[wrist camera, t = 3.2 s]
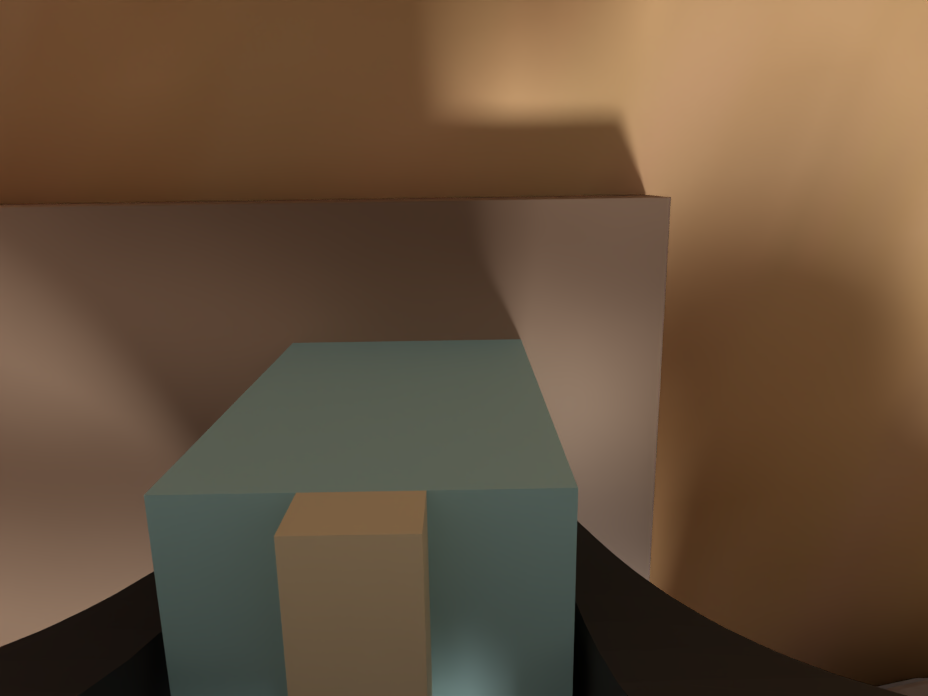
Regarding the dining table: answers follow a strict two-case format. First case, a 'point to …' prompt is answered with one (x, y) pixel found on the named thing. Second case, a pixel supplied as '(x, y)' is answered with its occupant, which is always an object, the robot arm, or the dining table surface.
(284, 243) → the board
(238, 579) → the teal and beige block
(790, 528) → the dining table surface
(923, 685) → the coffee pot
